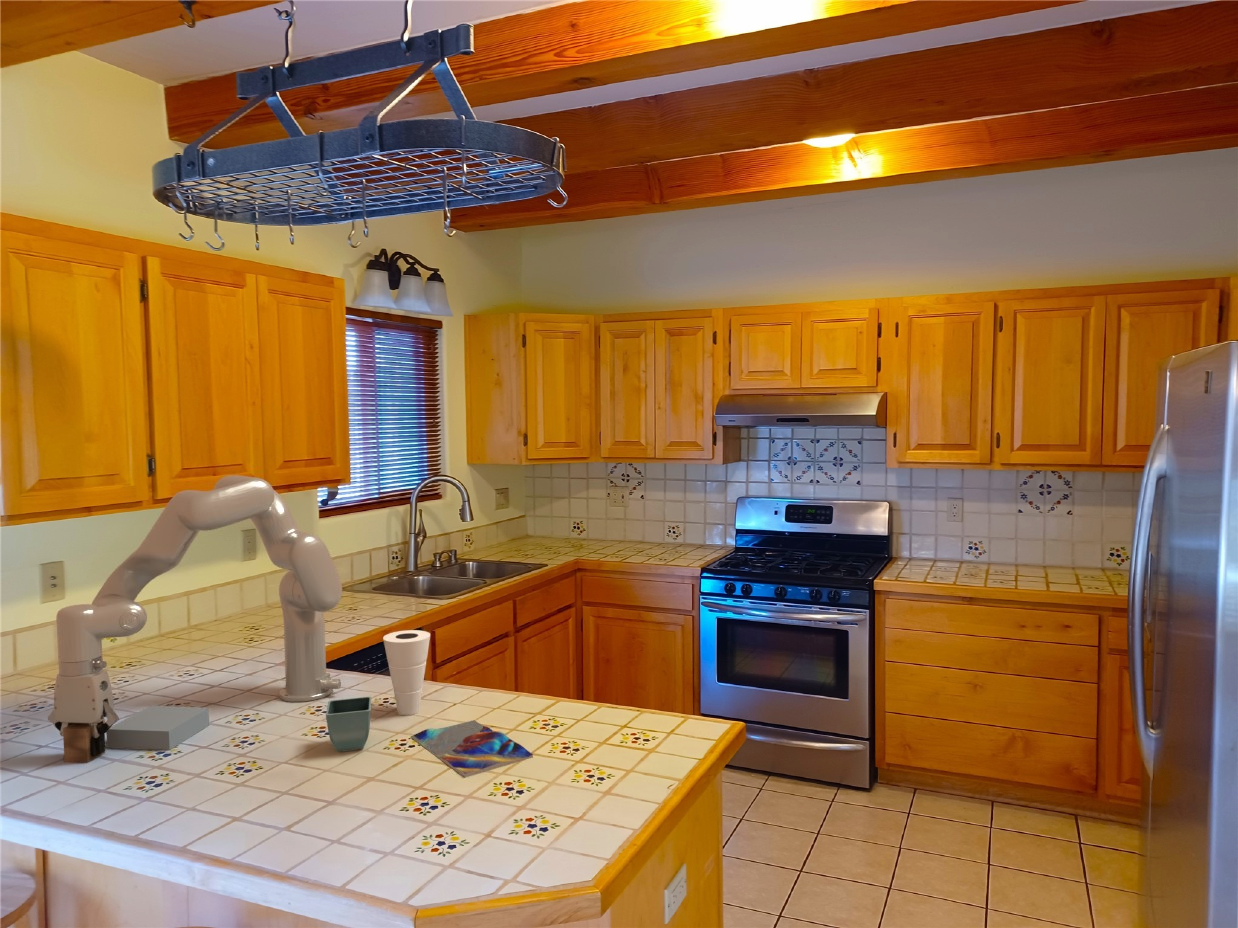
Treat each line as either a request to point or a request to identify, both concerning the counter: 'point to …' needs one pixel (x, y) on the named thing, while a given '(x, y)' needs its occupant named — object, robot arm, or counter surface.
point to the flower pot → (349, 722)
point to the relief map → (471, 747)
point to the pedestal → (158, 728)
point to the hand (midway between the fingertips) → (84, 752)
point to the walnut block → (78, 743)
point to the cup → (407, 667)
